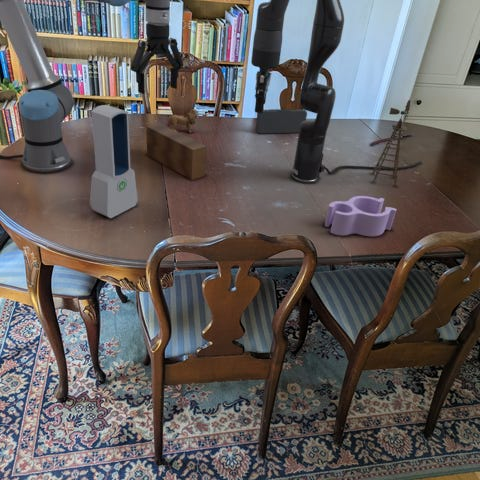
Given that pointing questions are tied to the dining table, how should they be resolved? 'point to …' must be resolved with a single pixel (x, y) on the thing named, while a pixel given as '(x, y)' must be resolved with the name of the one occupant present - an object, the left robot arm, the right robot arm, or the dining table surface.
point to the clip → (359, 216)
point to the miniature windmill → (399, 125)
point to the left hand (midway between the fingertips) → (157, 90)
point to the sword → (386, 139)
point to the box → (176, 151)
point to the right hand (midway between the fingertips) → (260, 107)
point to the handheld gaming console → (280, 120)
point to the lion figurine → (184, 120)
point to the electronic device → (112, 163)
